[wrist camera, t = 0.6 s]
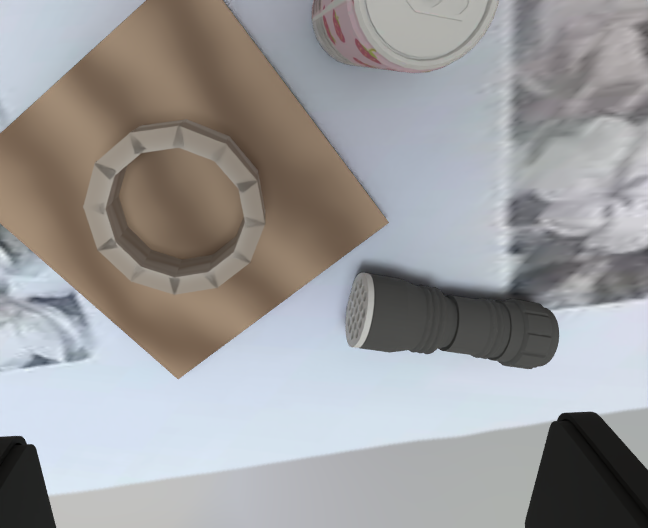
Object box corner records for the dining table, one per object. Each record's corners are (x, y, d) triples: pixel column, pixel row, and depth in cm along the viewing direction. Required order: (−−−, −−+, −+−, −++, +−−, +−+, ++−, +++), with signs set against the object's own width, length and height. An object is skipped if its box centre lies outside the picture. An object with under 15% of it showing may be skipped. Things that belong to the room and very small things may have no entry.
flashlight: (539, 291, 41) (578, 324, 36) (516, 348, 43) (549, 387, 38) (358, 261, 38) (372, 292, 33) (341, 323, 40) (353, 361, 35)
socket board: (193, -38, 29) (183, -52, 25) (385, 218, 36) (399, 236, 33) (-41, 175, 32) (-80, 191, 28) (180, 371, 40) (171, 404, 36)
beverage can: (410, 49, 32) (519, 47, 18) (325, 76, 32) (371, 95, 19) (390, -50, 30) (497, -137, 16) (299, -20, 30) (328, -81, 16)
